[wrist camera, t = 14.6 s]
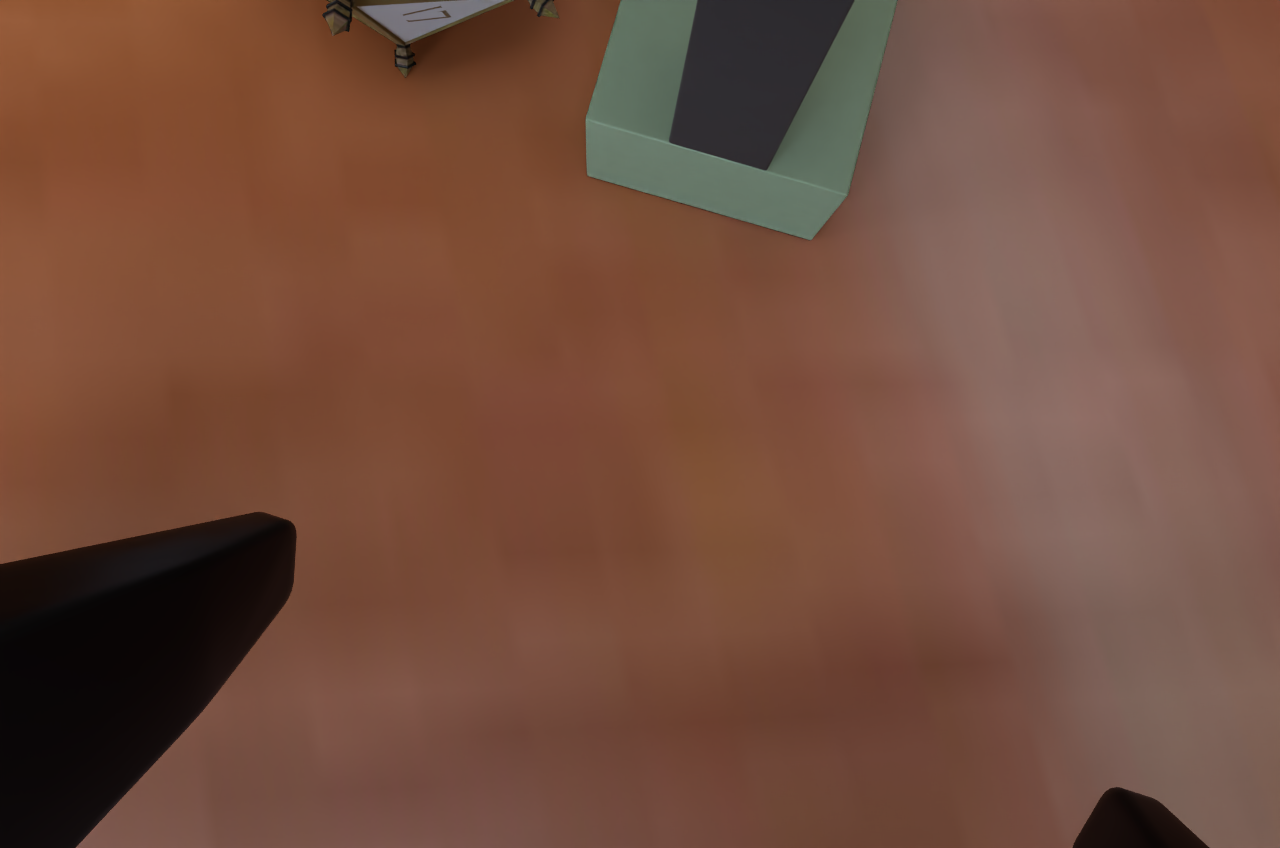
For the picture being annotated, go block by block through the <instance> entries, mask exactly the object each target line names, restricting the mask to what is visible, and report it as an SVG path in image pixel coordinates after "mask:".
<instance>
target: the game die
mask: <svg viewBox="0 0 1280 848" xmlns="http://www.w3.org/2000/svg"><path fill="white" fill-rule="evenodd" d="M327 1H328V2H330V3H329V4H327V6H326V8H327V9H328V10H327V12H325V13H323V15H322V16H323V17H324V18H325V20H326V21H327V23H328V25H329V28H330V30H331V33H332V35H333V36H334V35H336V34H338V33H341V32H343V31H348V32H349V29H350V22H351V21H352V17H354V18H356V19H357V20H359V21H360V22H362V23H364V24H365V25H367V26H368V27H370V28H372V29H373V30H375V31H376V32H378V33H380V34H381V35H383V36H384V37H386V38H388V39H389V40H391V41H392V42H394V43H396V44H397V49H396V50H395V58H396V59H395V67H398V68H399V70H400V71H401V72H402V74H403V75H404V77H405V78H406V76H407V75H408V73H409V72H410V70H411V68H412V67H413V66H414V65H416V62H414V60H413V56H415V53H413V52H412V50H411V48H410V44H411V43H413V42H415V41H417V40H420V39H422V38H425V37H427V36H429V35H432V34H434V33H437V32H439V31H441V30H444V29H446V28H449V27H451V26H454V25H456V24H458V23H461V22H463V21H466V20H468V19H470V18H473V17H475V16H478V15H480V14H482V13H485V12H487V11H490V10H492V9H494V8H497V7H499V6H502V5H504V4H506V3H509V2H511V1H514V0H327ZM528 1H529V3H530V5H531V6H530V8H531V10H532V9H533V8H534V10H535V11H536V12H537V13H538V14H537V16H538V17H540V16H541V15H542V16H548V17H554V18H559V16H558V14H557V11H556V8H555V6H554V3H553V1H554V0H528Z"/></svg>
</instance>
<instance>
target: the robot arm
mask: <svg viewBox="0 0 1280 848" xmlns="http://www.w3.org/2000/svg"><path fill="white" fill-rule="evenodd" d="M296 538H297V536H296V528H295V526H294V524H293V523H292V522H291V521H289V520H286V519H283V518H280V517H277V516H273V515H270V514H267V513H264V512H254V513H249V514H244V515H239V516H234V517H230V518H225V519H220V520H215V521H210V522H205V523H200V524H195V525H190V526H185V527H180V528H176V529H171V530H166V531H161V532H156V533H151V534H146V535H141V536H136V537H131V538H126V539H122V540H117V541H112V542H107V543H102V544H97V545H92V546H87V547H82V548H77V549H73V550H68V551H63V552H58V553H53V554H48V555H43V556H38V557H33V558H28V559H23V560H19V561H14V562H9V563H4V564H0V848H76V847H77V845H78V844H79V843H80V842H81V841H82V840H83V839H84V838H85V837H86V836H87V835H88V834H89V833H90V832H91V830H92V829H93V828H94V827H95V826H96V825H97V824H98V823H99V822H100V821H101V820H102V819H103V818H104V817H105V816H106V814H107V813H108V812H109V811H110V810H111V809H112V808H113V807H114V806H115V805H116V804H117V803H118V802H119V801H120V799H121V798H122V797H123V796H124V795H125V794H126V793H127V792H128V791H129V790H130V789H131V788H132V787H133V786H134V785H135V783H136V782H137V781H138V780H139V779H140V778H141V777H142V776H143V775H144V774H145V773H146V772H147V771H148V770H149V768H150V767H151V766H152V765H153V764H154V763H155V762H156V761H157V760H158V759H159V758H160V757H161V756H162V755H163V754H164V752H165V751H166V750H167V749H168V748H169V747H170V746H171V745H172V744H173V743H174V742H175V741H176V740H177V739H178V737H179V736H180V735H181V734H182V733H183V732H184V731H185V730H186V729H187V728H188V727H189V726H190V724H191V723H192V722H193V721H194V720H195V719H196V718H197V717H198V716H199V714H200V713H201V712H202V711H203V710H204V709H205V707H206V706H207V705H208V704H209V702H210V701H211V700H212V699H213V697H214V696H215V695H216V694H217V692H218V691H219V690H220V689H221V687H222V686H223V685H224V683H225V682H226V681H227V679H228V678H229V677H230V675H231V674H232V673H233V672H234V670H235V669H236V668H237V666H238V665H239V664H240V662H241V661H242V660H243V658H244V657H245V656H246V654H247V653H248V652H249V651H250V649H251V648H252V647H253V645H254V644H255V643H256V641H257V640H258V639H259V637H260V636H261V635H262V633H263V632H264V631H265V630H266V628H267V627H268V626H269V624H270V623H271V622H272V620H273V619H274V618H275V616H276V615H277V614H278V613H279V611H280V610H281V609H282V607H283V606H284V604H285V603H286V601H287V600H288V598H289V596H290V593H291V591H292V587H293V582H294V568H295V553H296ZM1073 848H1209V847H1208V846H1207V845H1206V844H1205V843H1204V842H1203V841H1201V840H1200V839H1199V838H1198V837H1197V836H1196V835H1195V834H1194V833H1193V832H1192V831H1191V830H1190V829H1189V828H1187V827H1186V826H1185V825H1184V824H1183V823H1182V822H1181V821H1180V820H1179V819H1178V818H1177V817H1176V816H1175V815H1173V814H1172V813H1171V812H1170V811H1169V810H1168V809H1167V808H1166V807H1165V806H1164V805H1163V804H1161V803H1160V802H1159V801H1157V800H1155V799H1153V798H1151V797H1148V796H1145V795H1142V794H1139V793H1135V792H1132V791H1129V790H1126V789H1123V788H1120V787H1115V788H1110V789H1108V790H1107V791H1106V792H1105V793H1104V794H1103V795H1102V797H1101V798H1100V800H1099V801H1098V803H1097V805H1096V806H1095V808H1094V810H1093V812H1092V813H1091V815H1090V817H1089V818H1088V820H1087V822H1086V823H1085V825H1084V827H1083V828H1082V830H1081V832H1080V833H1079V835H1078V837H1077V839H1076V840H1075V843H1074V845H1073Z"/></svg>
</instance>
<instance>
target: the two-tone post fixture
mask: <svg viewBox="0 0 1280 848" xmlns="http://www.w3.org/2000/svg"><path fill="white" fill-rule="evenodd" d="M897 1H898V0H621V2H620V5H619V9H618V12H617V15H616V19H615V22H614V25H613V29H612V32H611V35H610V39H609V42H608V45H607V49H606V52H605V55H604V59H603V62H602V65H601V69H600V72H599V75H598V79H597V82H596V86H595V89H594V92H593V96H592V99H591V102H590V106H589V109H588V112H587V116H586V158H587V176H590V177H593V178H597V179H600V180H604V181H607V182H611V183H614V184H618V185H621V186H625V187H628V188H631V189H635V190H638V191H642V192H645V193H649V194H652V195H656V196H659V197H663V198H666V199H670V200H673V201H676V202H680V203H683V204H687V205H690V206H694V207H697V208H701V209H704V210H708V211H711V212H714V213H718V214H721V215H725V216H728V217H732V218H735V219H739V220H742V221H746V222H749V223H753V224H756V225H759V226H763V227H766V228H770V229H773V230H777V231H780V232H784V233H787V234H791V235H794V236H797V237H801V238H804V239H808V240H812V239H813V237H814V236H815V235H816V234H817V232H818V231H819V230H820V229H821V228H822V226H823V225H824V224H825V223H826V221H827V220H828V219H829V218H830V217H831V215H832V214H833V213H834V212H835V210H836V209H837V208H838V207H839V206H840V204H841V203H842V202H843V201H844V199H845V198H846V197H847V196H848V193H849V190H850V186H851V182H852V178H853V174H854V170H855V166H856V162H857V158H858V154H859V150H860V146H861V142H862V139H863V135H864V131H865V127H866V123H867V119H868V115H869V111H870V107H871V103H872V99H873V95H874V91H875V88H876V84H877V80H878V76H879V72H880V68H881V64H882V60H883V56H884V52H885V48H886V44H887V40H888V36H889V33H890V29H891V25H892V21H893V17H894V13H895V9H896V5H897Z"/></svg>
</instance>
